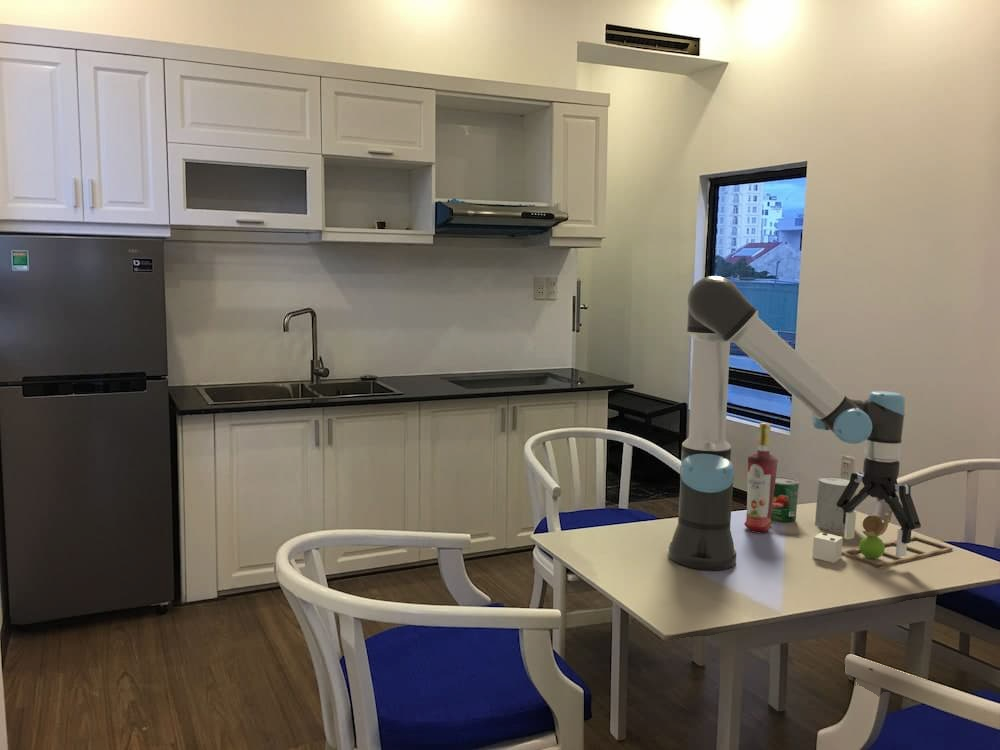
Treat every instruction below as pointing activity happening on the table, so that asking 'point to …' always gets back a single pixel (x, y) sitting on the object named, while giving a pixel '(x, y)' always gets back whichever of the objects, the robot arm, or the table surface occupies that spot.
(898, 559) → the wooden ladder frame
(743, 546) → the table surface
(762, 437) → the liquor
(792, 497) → the canned tomato
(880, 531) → the snail figurine
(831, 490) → the grey cylinder
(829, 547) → the die
